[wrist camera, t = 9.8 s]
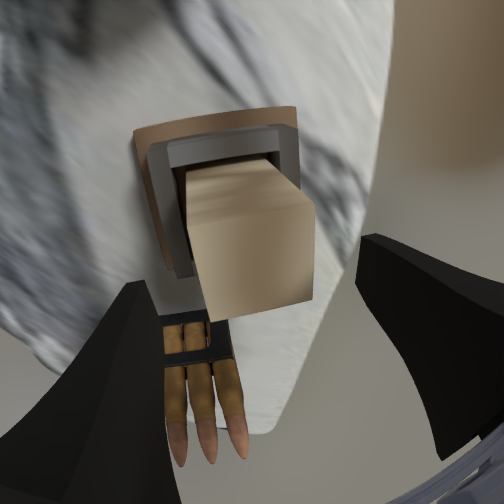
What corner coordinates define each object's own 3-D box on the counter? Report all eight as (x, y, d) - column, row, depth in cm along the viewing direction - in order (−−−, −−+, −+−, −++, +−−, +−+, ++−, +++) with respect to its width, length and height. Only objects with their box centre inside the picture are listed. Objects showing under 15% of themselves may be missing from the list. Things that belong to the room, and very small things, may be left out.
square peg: (198, 227, 17) (210, 322, 11) (186, 163, 15) (186, 227, 8) (262, 215, 18) (312, 299, 11) (257, 152, 16) (315, 204, 9)
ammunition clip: (106, 338, 22) (92, 470, 12) (98, 323, 21) (77, 460, 11) (228, 322, 23) (262, 459, 13) (225, 305, 22) (261, 451, 12)
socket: (168, 261, 19) (166, 293, 16) (136, 129, 14) (123, 138, 11) (295, 236, 20) (314, 263, 17) (290, 105, 15) (314, 110, 12)
